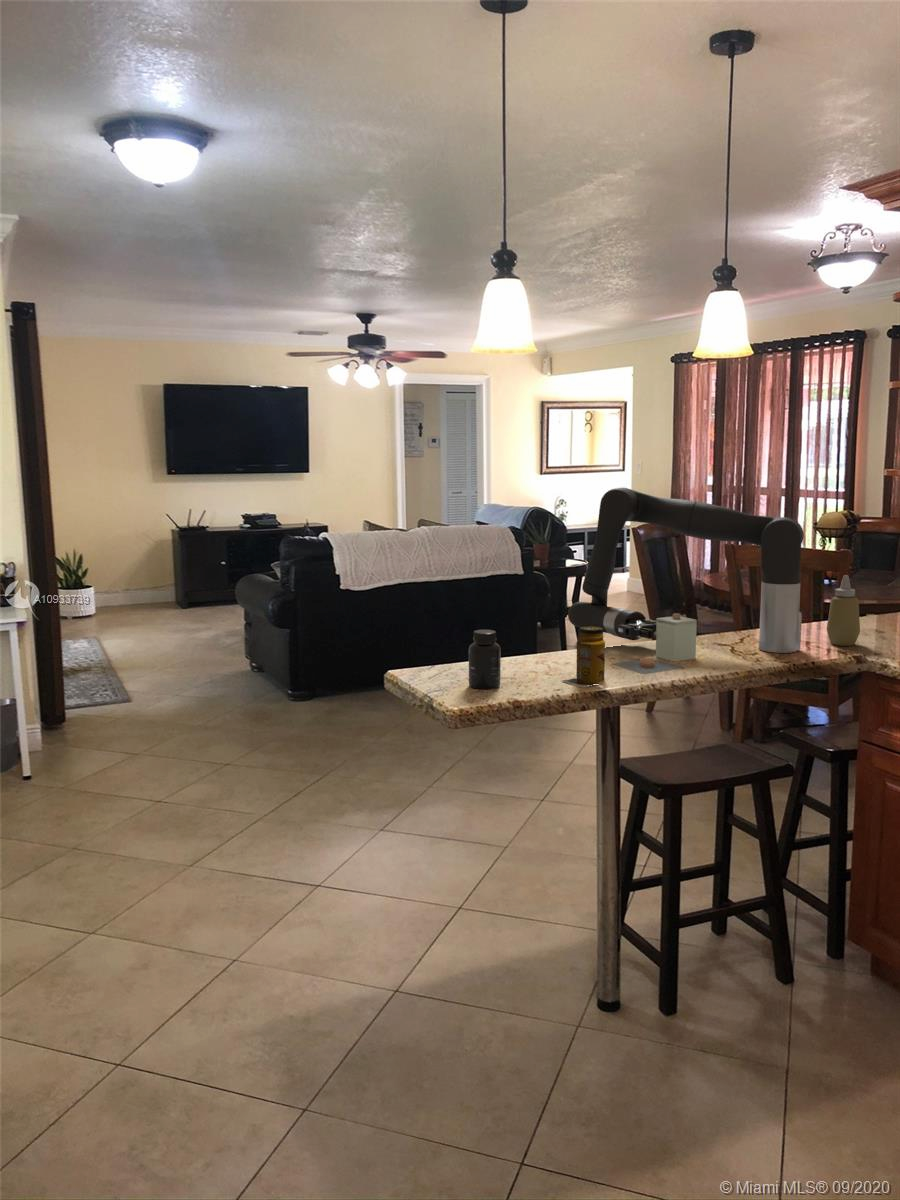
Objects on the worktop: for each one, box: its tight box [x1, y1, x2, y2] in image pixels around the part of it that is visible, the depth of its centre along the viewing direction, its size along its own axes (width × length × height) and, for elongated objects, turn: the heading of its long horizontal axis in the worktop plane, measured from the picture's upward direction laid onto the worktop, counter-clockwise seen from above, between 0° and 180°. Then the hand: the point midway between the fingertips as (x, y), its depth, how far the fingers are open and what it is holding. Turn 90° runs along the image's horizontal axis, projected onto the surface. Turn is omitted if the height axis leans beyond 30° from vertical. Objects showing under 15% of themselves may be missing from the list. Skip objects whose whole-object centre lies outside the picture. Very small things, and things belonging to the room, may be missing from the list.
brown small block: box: [639, 656, 656, 667], centre depth 208 cm, size 3×3×2 cm
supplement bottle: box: [468, 629, 502, 691], centre depth 193 cm, size 7×7×12 cm
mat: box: [611, 659, 684, 675], centre depth 209 cm, size 12×12×1 cm
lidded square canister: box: [655, 612, 698, 662], centre depth 217 cm, size 7×7×11 cm
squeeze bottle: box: [826, 574, 861, 647], centre depth 233 cm, size 8×8×18 cm
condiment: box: [560, 626, 606, 688], centre depth 195 cm, size 7×8×12 cm
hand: (666, 633), depth 220 cm, fingers open, 8 cm apart
